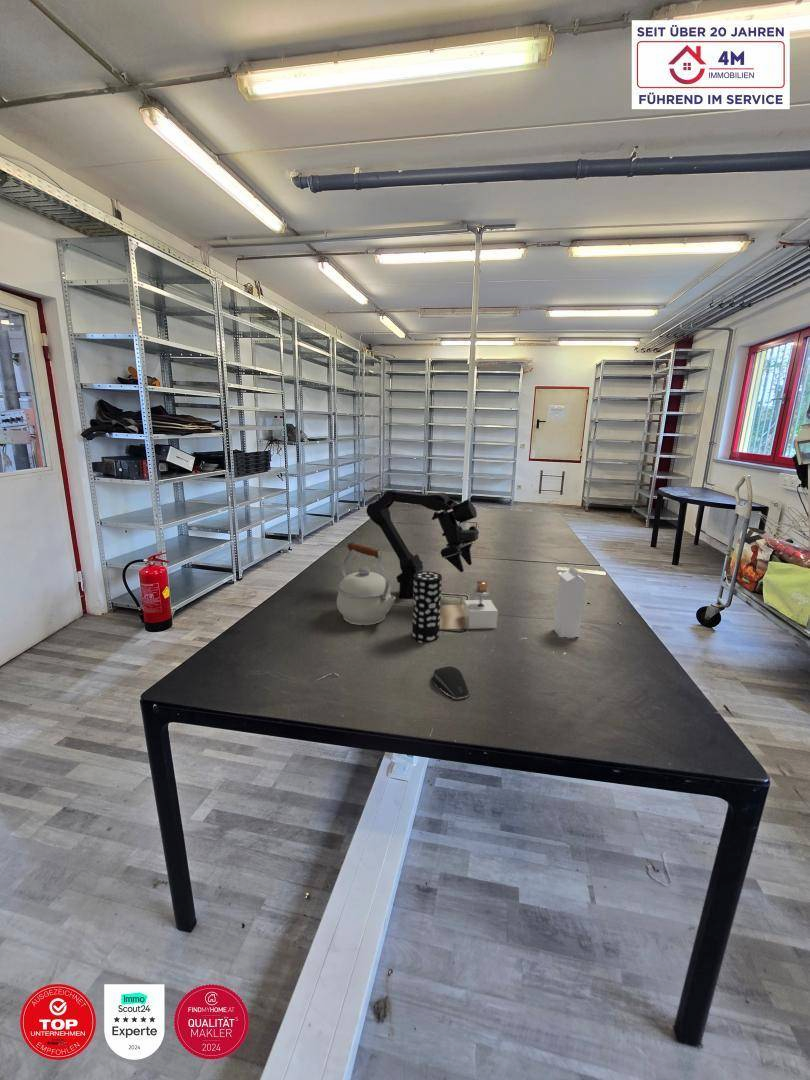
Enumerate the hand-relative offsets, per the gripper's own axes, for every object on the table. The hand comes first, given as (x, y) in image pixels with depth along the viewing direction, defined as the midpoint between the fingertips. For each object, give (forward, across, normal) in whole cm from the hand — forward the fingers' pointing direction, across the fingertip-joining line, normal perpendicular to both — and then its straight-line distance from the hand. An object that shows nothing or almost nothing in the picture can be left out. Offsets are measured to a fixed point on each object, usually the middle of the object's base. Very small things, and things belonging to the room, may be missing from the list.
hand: (466, 568), depth 155 cm
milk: (+29, -5, -25) cm, 39 cm away
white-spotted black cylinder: (+12, -28, +10) cm, 32 cm away
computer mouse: (+20, -49, -4) cm, 53 cm away
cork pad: (+14, -9, +5) cm, 17 cm away
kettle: (+2, -25, +30) cm, 39 cm away
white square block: (+17, -11, -2) cm, 20 cm away
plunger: (+12, -11, -4) cm, 17 cm away
